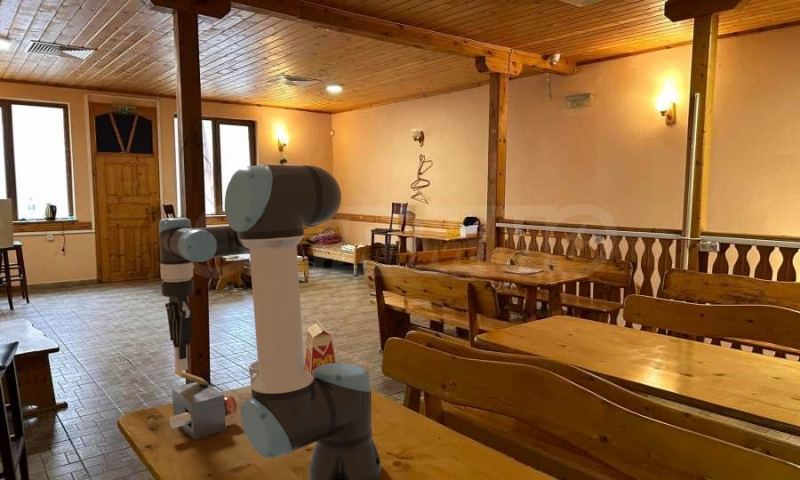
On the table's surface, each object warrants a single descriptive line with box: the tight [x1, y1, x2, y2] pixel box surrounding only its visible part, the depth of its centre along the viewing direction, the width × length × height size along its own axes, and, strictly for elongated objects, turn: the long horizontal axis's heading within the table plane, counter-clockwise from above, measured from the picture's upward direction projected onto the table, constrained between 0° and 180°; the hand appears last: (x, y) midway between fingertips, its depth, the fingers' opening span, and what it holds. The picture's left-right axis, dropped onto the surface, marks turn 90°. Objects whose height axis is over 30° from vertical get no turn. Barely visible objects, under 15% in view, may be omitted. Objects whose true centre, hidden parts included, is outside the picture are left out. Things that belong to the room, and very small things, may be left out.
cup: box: [248, 360, 259, 385], centre depth 162 cm, size 11×8×8 cm
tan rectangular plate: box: [174, 370, 210, 386], centre depth 143 cm, size 5×8×1 cm, turn 131°
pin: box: [169, 395, 238, 430], centre depth 137 cm, size 5×16×5 cm, turn 131°
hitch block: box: [171, 381, 227, 441], centre depth 140 cm, size 14×8×9 cm, turn 41°
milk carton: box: [304, 318, 337, 378], centre depth 166 cm, size 9×9×20 cm
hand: (181, 369), depth 141 cm, fingers closed
